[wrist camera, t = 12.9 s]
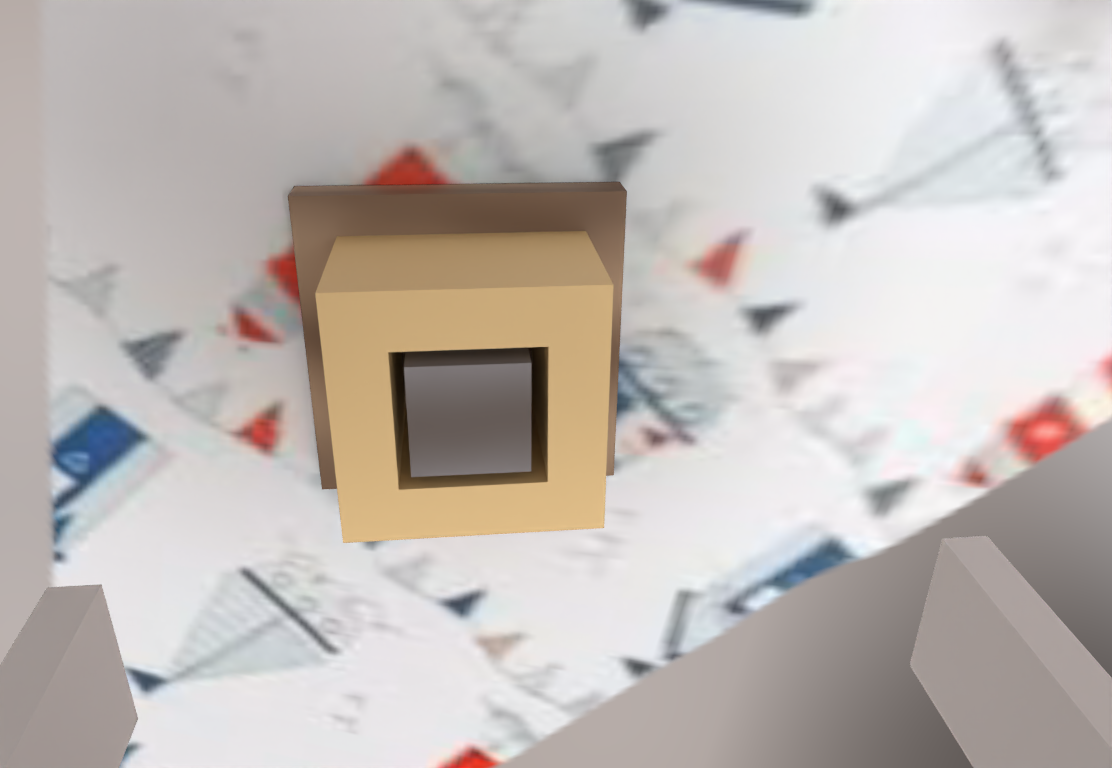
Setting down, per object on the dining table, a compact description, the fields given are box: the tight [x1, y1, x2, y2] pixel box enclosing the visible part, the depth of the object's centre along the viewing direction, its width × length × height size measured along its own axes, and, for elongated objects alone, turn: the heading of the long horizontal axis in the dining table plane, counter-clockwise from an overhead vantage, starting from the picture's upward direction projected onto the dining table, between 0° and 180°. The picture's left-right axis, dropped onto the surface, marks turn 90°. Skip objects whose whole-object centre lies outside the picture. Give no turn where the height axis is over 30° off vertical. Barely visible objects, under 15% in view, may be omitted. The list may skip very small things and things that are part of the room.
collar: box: [315, 231, 613, 543], centre depth 32 cm, size 9×9×6 cm
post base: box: [288, 182, 627, 489], centre depth 33 cm, size 12×12×8 cm
